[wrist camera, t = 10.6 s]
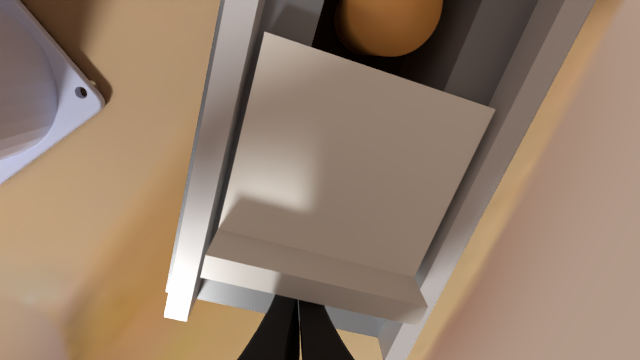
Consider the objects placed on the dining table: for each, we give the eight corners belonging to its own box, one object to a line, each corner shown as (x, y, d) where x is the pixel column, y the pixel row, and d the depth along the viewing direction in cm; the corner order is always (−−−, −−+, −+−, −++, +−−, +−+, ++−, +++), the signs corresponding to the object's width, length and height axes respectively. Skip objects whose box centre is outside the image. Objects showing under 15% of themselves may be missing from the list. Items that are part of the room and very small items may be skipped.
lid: (399, 281, 13) (418, 326, 11) (218, 237, 12) (200, 277, 10) (482, 105, 11) (526, 118, 9) (268, 33, 10) (257, 27, 8)
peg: (321, 7, 15) (329, -12, 10) (380, -34, 15) (416, -75, 10) (355, 67, 16) (376, 74, 11) (412, 30, 15) (458, 21, 11)
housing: (376, 263, 20) (412, 367, 13) (206, 221, 18) (152, 314, 12) (507, -39, 15) (671, -111, 8) (283, -130, 13) (263, -307, 7)
